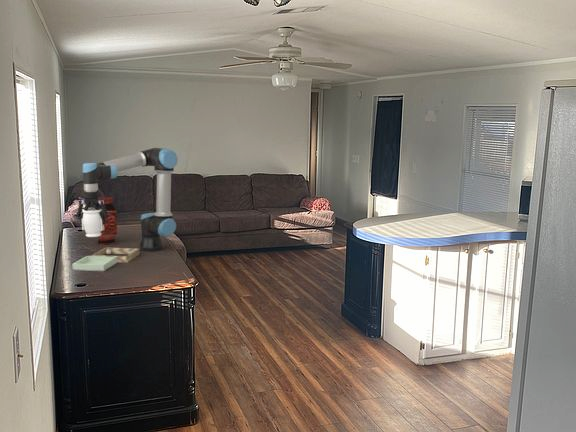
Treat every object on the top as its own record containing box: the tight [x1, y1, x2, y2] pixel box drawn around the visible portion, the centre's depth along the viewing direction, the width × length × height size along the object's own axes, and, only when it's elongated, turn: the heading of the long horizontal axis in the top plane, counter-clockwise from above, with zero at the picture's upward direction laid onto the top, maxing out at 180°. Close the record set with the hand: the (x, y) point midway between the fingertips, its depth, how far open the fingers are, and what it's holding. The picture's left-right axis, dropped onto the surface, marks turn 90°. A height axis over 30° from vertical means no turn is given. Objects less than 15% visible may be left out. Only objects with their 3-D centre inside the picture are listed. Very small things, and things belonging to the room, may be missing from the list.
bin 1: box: [72, 255, 118, 272], centre depth 326 cm, size 18×18×4 cm
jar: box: [81, 207, 102, 238], centre depth 321 cm, size 11×10×15 cm
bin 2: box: [90, 247, 141, 264], centre depth 345 cm, size 22×20×4 cm
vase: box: [97, 196, 118, 246], centre depth 380 cm, size 14×14×30 cm
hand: (93, 229), depth 322 cm, fingers closed on jar, 10 cm apart
